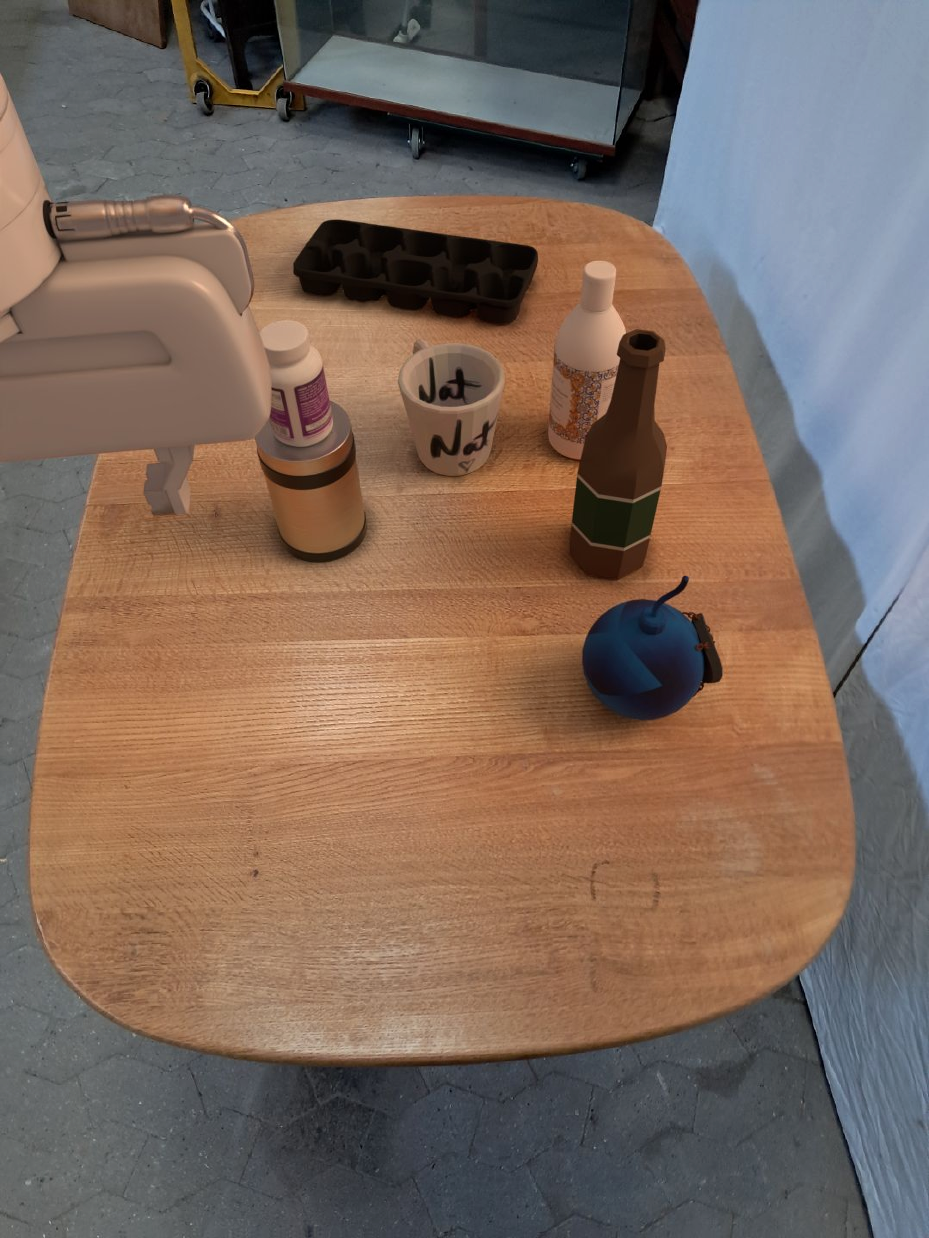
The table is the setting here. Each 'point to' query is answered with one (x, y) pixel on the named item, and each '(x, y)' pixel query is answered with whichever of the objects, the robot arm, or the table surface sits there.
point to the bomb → (649, 657)
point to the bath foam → (585, 361)
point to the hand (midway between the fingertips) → (65, 515)
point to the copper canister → (315, 491)
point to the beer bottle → (621, 467)
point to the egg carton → (417, 269)
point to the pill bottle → (296, 385)
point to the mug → (452, 404)
